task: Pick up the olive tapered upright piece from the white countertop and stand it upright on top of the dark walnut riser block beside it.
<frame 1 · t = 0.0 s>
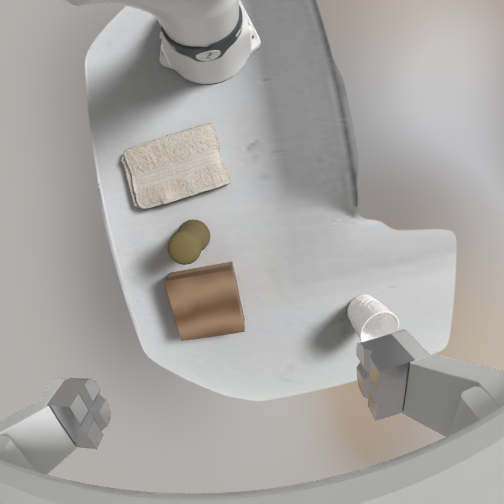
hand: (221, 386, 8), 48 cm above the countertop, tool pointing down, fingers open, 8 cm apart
olive tapered upright piece: (193, 235, 56), on the countertop
walnut riser: (207, 296, 59), on the countertop
white cup: (361, 308, 61), on the countertop
washcloth: (174, 167, 53), on the countertop
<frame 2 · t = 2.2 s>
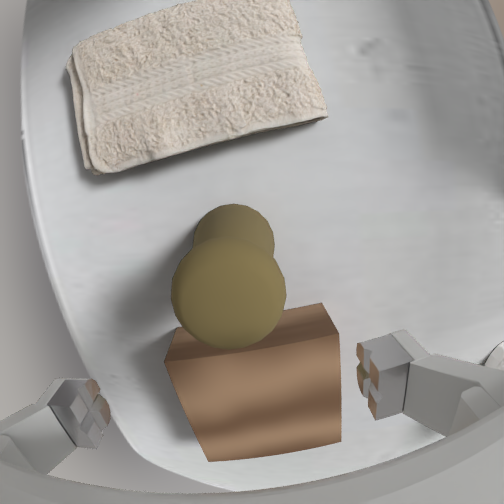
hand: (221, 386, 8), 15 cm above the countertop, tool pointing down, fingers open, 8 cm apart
olive tapered upright piece: (233, 244, 23), on the countertop
walnut riser: (260, 374, 26), on the countertop
white cup: (498, 359, 28), on the countertop
washcloth: (188, 77, 20), on the countertop
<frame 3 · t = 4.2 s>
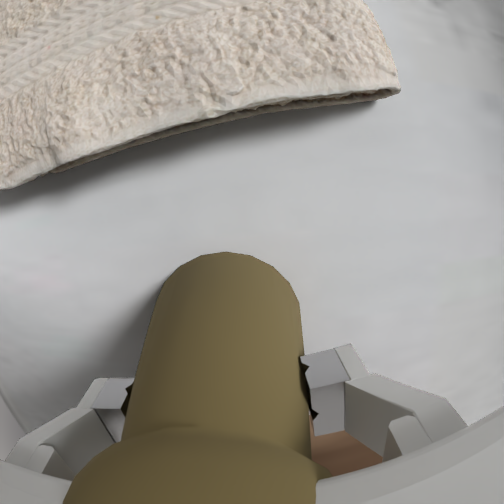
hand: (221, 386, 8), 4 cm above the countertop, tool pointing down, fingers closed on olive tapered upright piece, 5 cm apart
olive tapered upright piece: (227, 322, 13), on the countertop, touching gripper
walnut riser: (270, 482, 15), on the countertop
washcloth: (146, 22, 10), on the countertop
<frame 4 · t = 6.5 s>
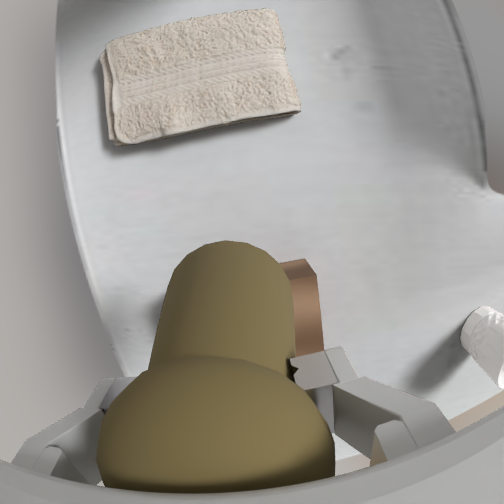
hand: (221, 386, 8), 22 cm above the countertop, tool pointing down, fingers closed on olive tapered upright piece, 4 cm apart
olive tapered upright piece: (229, 301, 15), point 15 cm above the countertop, touching gripper
walnut riser: (255, 323, 32), on the countertop
white cup: (476, 326, 34), on the countertop
washcloth: (195, 76, 26), on the countertop
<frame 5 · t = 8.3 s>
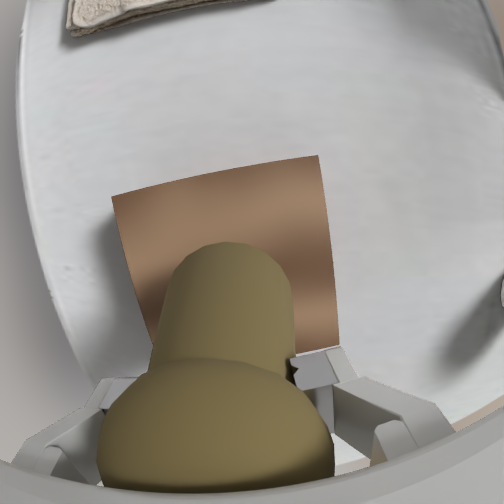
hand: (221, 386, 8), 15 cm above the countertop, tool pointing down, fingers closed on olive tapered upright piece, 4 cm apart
olive tapered upright piece: (229, 302, 15), point 8 cm above the countertop, touching gripper
walnut riser: (233, 255, 23), on the countertop
when the fingers open (11 cm above the countertop, at t = 9.8 s): olive tapered upright piece stays where it is, resting on walnut riser.
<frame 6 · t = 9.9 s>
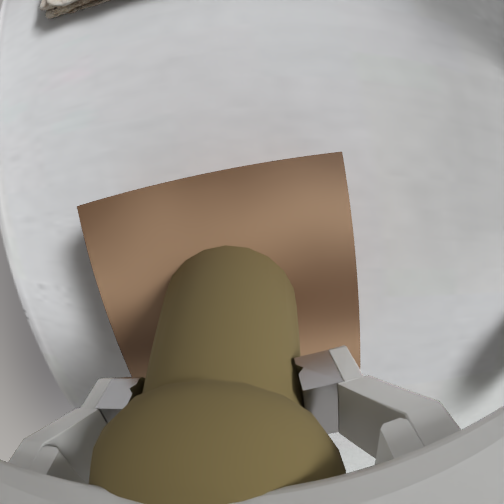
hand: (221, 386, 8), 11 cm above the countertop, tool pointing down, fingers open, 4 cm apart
olive tapered upright piece: (230, 309, 14), point 5 cm above the countertop, touching walnut riser
walnut riser: (232, 274, 19), on the countertop
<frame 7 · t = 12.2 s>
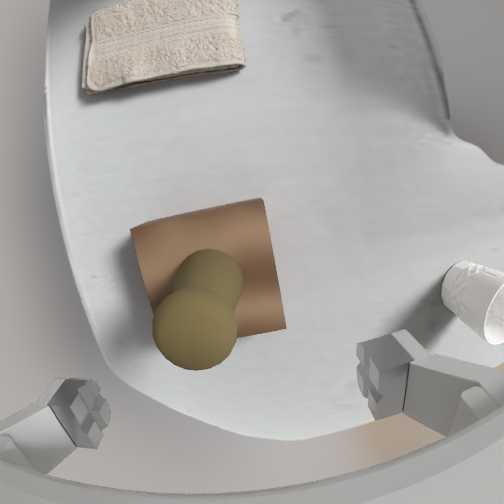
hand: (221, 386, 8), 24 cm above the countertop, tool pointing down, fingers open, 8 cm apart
olive tapered upright piece: (209, 281, 27), point 5 cm above the countertop, touching walnut riser
walnut riser: (214, 266, 32), on the countertop
white cup: (458, 284, 34), on the countertop
washcloth: (161, 40, 27), on the countertop
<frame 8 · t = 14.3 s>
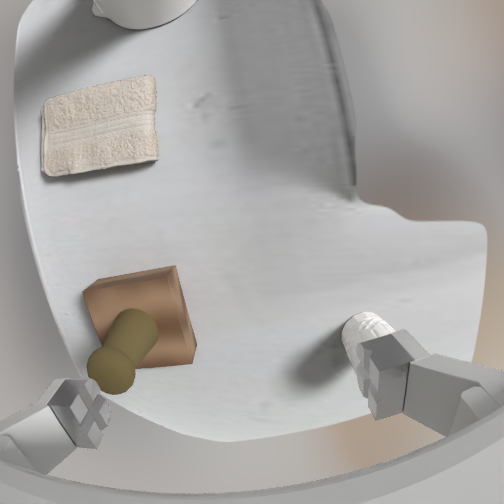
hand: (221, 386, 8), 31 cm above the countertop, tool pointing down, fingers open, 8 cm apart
olive tapered upright piece: (136, 329, 37), point 5 cm above the countertop, touching walnut riser
walnut riser: (146, 312, 41), on the countertop
white cup: (361, 330, 43), on the countertop
washcloth: (98, 128, 35), on the countertop
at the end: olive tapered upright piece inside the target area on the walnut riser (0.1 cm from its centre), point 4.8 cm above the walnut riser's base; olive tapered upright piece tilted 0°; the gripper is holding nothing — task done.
